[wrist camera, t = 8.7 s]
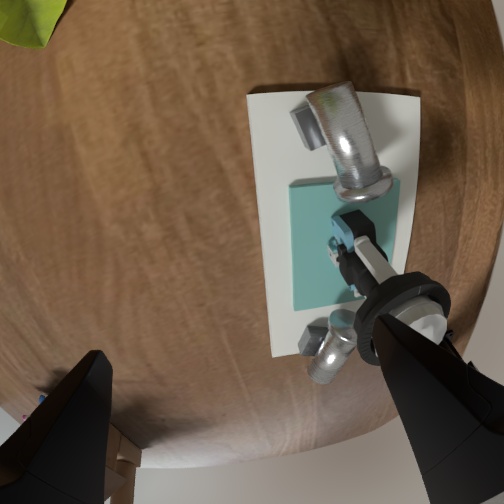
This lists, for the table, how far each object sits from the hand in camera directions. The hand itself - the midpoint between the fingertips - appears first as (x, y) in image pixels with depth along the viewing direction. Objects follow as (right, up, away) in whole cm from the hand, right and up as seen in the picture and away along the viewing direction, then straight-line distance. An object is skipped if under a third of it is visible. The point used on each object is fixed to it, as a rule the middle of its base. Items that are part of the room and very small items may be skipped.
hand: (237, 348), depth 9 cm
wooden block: (-21, -26, +27) cm, 43 cm away
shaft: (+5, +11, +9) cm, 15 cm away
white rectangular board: (+7, +4, +13) cm, 15 cm away
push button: (+7, +3, +12) cm, 14 cm away
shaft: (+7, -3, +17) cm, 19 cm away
